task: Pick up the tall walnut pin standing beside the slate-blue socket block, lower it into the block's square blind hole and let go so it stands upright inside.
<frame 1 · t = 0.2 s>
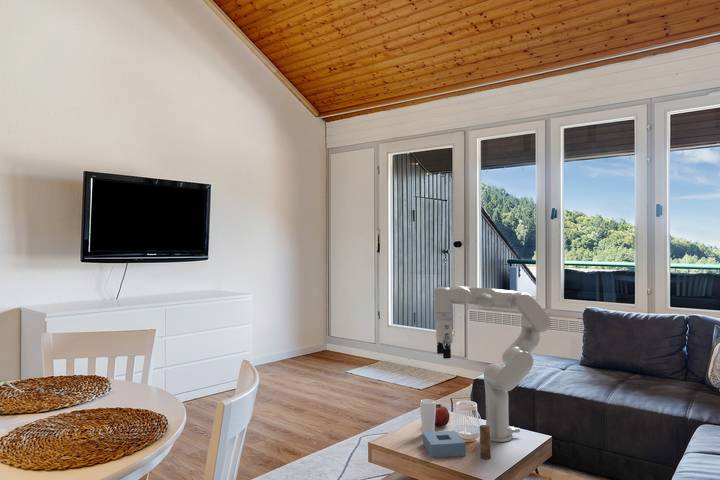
hand: (443, 356, 225), 36 cm above the table, tool pointing down, fingers open, 9 cm apart
socket block: (443, 449, 215), on the table
fruit: (439, 426, 243), on the table
walnut pin: (485, 457, 207), on the table
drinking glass: (428, 435, 231), on the table
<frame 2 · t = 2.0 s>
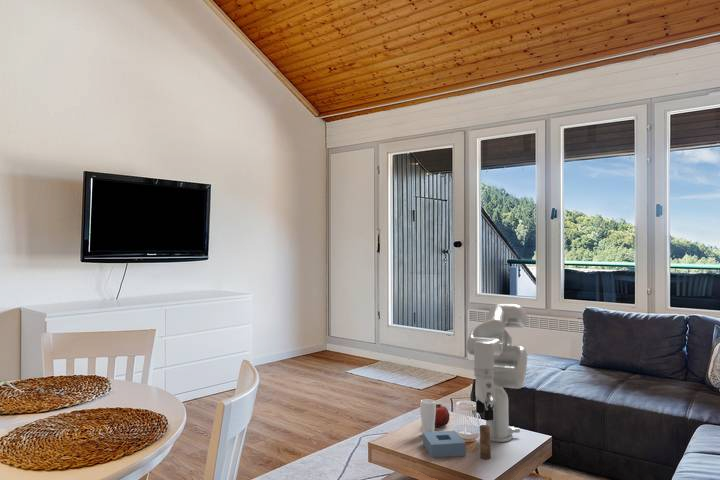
hand: (484, 416, 206), 16 cm above the table, tool pointing down, fingers open, 9 cm apart
nothing on the table moved.
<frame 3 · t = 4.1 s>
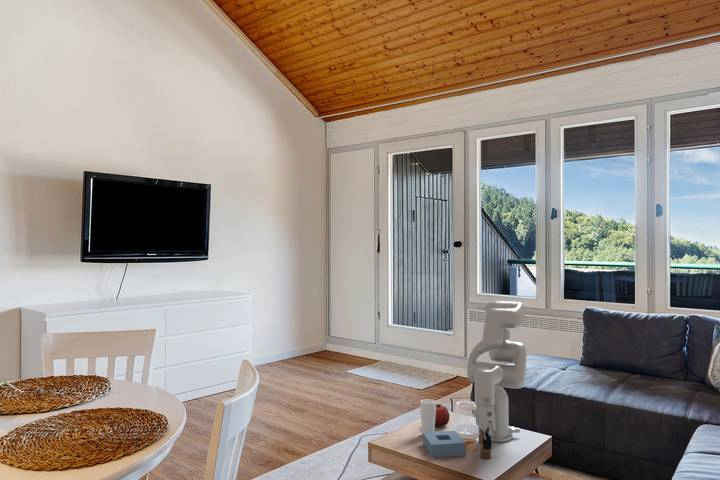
hand: (485, 446, 207), 4 cm above the table, tool pointing down, fingers closed on walnut pin, 4 cm apart
walnut pin: (485, 457, 207), on the table, touching gripper
everything else where it was.
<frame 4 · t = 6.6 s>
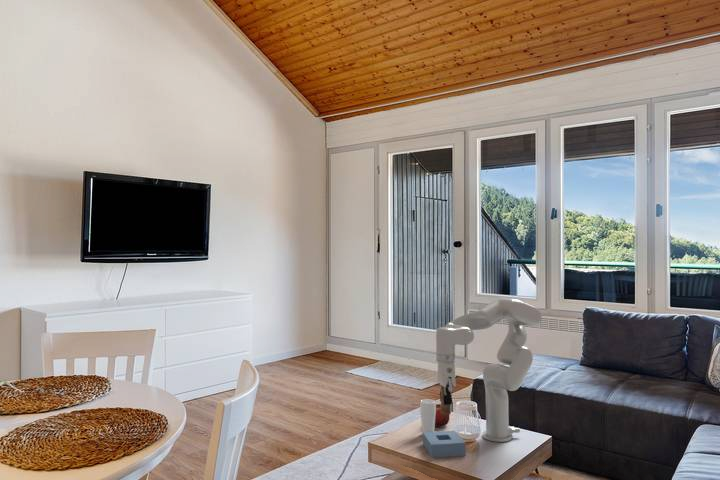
hand: (445, 402, 214), 20 cm above the table, tool pointing down, fingers closed on walnut pin, 4 cm apart
walnut pin: (445, 413, 214), point 15 cm above the table, touching gripper
everything else where it was.
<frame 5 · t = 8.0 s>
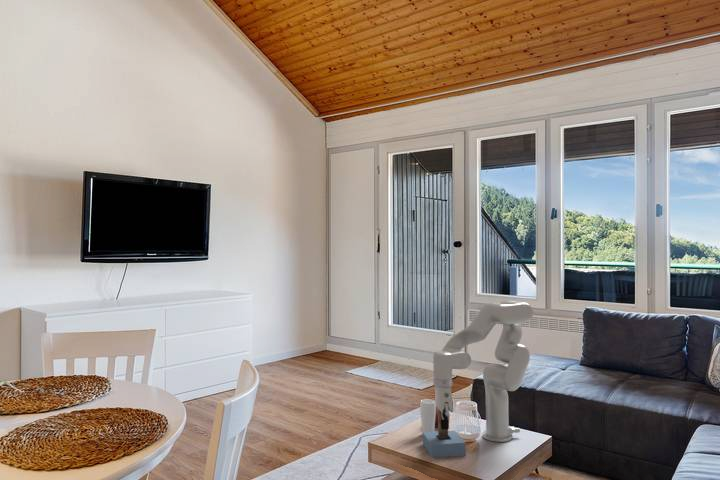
hand: (443, 426, 215), 9 cm above the table, tool pointing down, fingers closed on walnut pin, 4 cm apart
walnut pin: (443, 437, 215), point 5 cm above the table, touching gripper
everything else where it was.
when the fingers open (6 cm above the table, at t = 9.0 s): walnut pin stays where it is, resting on socket block.
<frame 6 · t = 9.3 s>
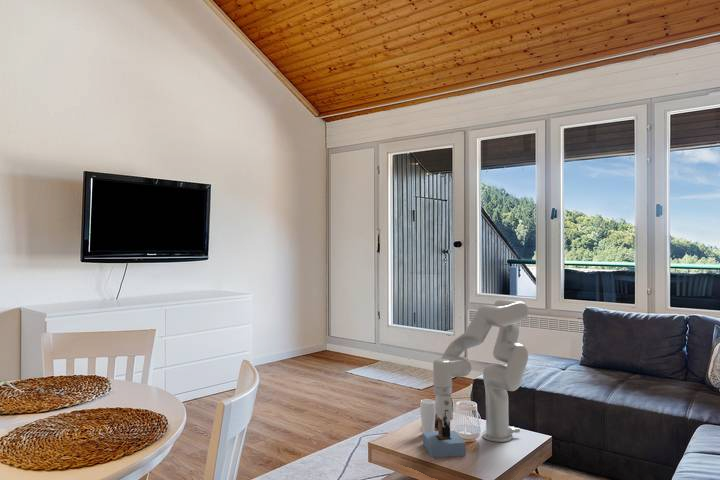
hand: (443, 433, 215), 7 cm above the table, tool pointing down, fingers open, 7 cm apart
walnut pin: (443, 447, 215), point 1 cm above the table, touching socket block
everything else where it was.
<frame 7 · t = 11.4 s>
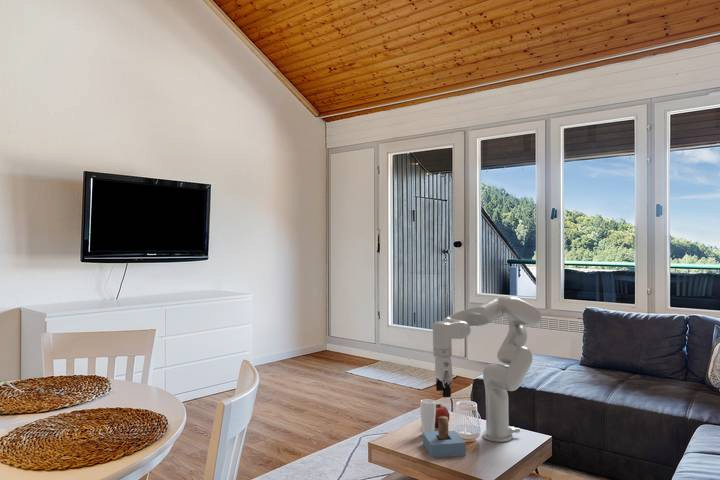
hand: (443, 393, 215), 23 cm above the table, tool pointing down, fingers open, 9 cm apart
nothing on the table moved.
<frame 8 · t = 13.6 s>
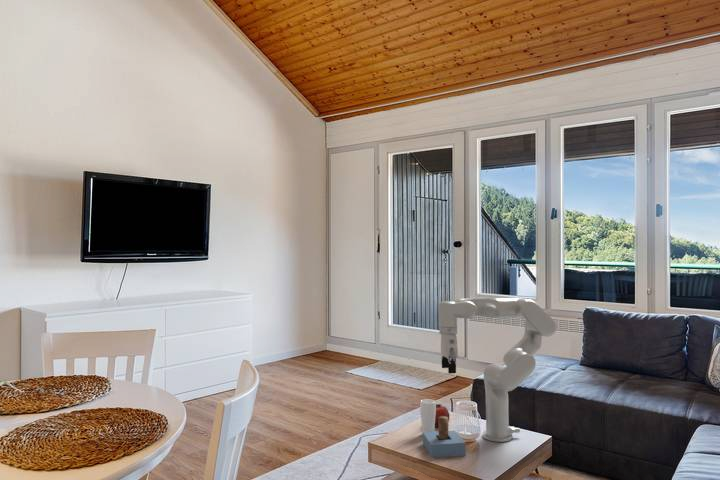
hand: (448, 370, 224), 30 cm above the table, tool pointing down, fingers open, 9 cm apart
nothing on the table moved.
at the end: walnut pin 0.0 cm off-centre on the socket block, point 1.0 cm above the socket block's base; walnut pin tilted 0°; the gripper is holding nothing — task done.
